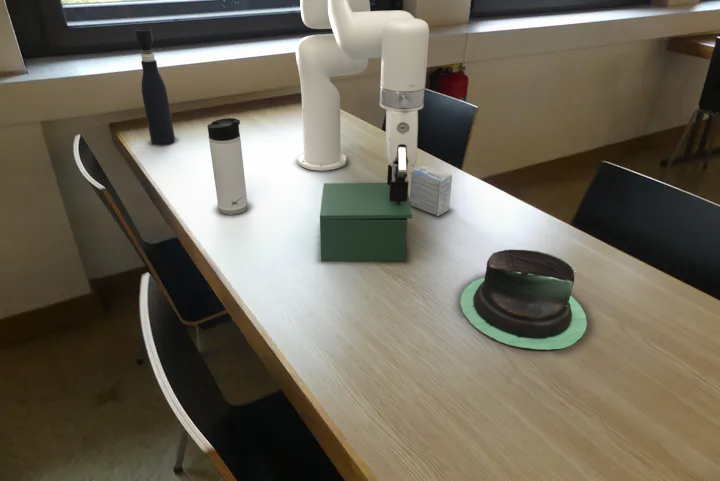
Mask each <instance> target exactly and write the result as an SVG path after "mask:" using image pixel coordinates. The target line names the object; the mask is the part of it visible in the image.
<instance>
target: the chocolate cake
mask: <svg viewBox="0 0 720 481" xmlns="http://www.w3.org/2000/svg"><path fill="white" fill-rule="evenodd" d="M575 273H577V271H576V270H574V269H573V267H572V266H571V265H570V263H569V262H567V261H565V260H564V259H563V258H561V257H558V256H556V255H554V254H552V253H549V252H548V253H546V252H542V251H539V250H530V249H504V250H498V251H496V252H495V251H494V252H493V253H491V255H490V256H489V257H488V259H487V262H486V268H485V275H484V277H480V278H478V279H476V280H474V281H472V282H471V283H470V284H469V285H467V286H466V287H465V288H464V290H463V291H462V294H461V295H460V307H461V310H462V313H463V315H464V316H465V317H466V319H467V320H468V321H469V323H470V324H471V325H472V326H473V327H474V328H476V329H477V330H478V331H479V332H481V333H483V334H485V335H486V336H488V337H490V338H492V339H495V340H496V341H498V342H500V343H503V344H506V345H507V346H508V345H509V346H514V347H517V348H525V349H532V350H548V351H550V350H561V349H565V348H569V347H571V346H573V345H574V344H575V343H577V342H578V341H579V340H580V339H581V338H582V337H583V336H584V334H585V332H586V330H587V327H588V326H587V325H588V323H587V315H586V313H585V311H584V309H583V307H582V306H581V304H580V303H579V302H578V301H577V300H576V299H575V298H574V297H573V296H572V292H573V287H574V283H575Z"/></svg>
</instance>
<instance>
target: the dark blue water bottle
mask: <svg viewBox="0 0 720 481" xmlns="http://www.w3.org/2000/svg"><path fill="white" fill-rule="evenodd" d="M134 32H135V38H136V42H137V44H138V45H140V49H141V54H140V57H141V61H140V63H141V67H142V77H141V95H142V101H143V105H144V106H143V108H144V112H145V117H146V122H147V128H148V131H149V136H150V142H151V144H152V145H155V146H166V145H171V144H173V143H174V142H176V136H175V130H174V125H173V119H172V113H171V108H170V102H169V101H170V100H169V96H168V91H167V87H166V84H165V82H164V79H163V77H162V76H161V73H160V72H159V68H158V63H157V62H158V61H157V60H156V57H155V54H154V52H153V49H152V44H153V43H154V39H153V38H154V37H153V33H152V29H151V28H146V27H145V28H142V27H141V28H136V29H134Z"/></svg>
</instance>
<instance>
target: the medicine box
mask: <svg viewBox="0 0 720 481" xmlns="http://www.w3.org/2000/svg"><path fill="white" fill-rule="evenodd" d="M410 177H411V178H410V192H409V193H410V194H409V201H410V206H411V207H413V208H415V209H418V210H420V211H423V212H425V213H429V214H430V215H433V216H436V217H440V216H441V215H443V214H444V213H446V212H448V211H449V210H450V205H451V204H450V203H451V192H452V182H453V174H451V173H448V172H445V171H442V170H439V169H436V168H433V167H431V166H427V165H421V166H418V167H416V168H415V169H412V170H411V175H410Z"/></svg>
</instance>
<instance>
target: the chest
mask: <svg viewBox="0 0 720 481" xmlns="http://www.w3.org/2000/svg"><path fill="white" fill-rule="evenodd" d="M407 231H408V218H381V219H320V218H319V232H320V234H319V236H320V237H319V238H320V262H397V263H398V262H399V263H400V262H402V263H403V262H405V260H406V247H407V246H406V245H407V233H408V232H407Z"/></svg>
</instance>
